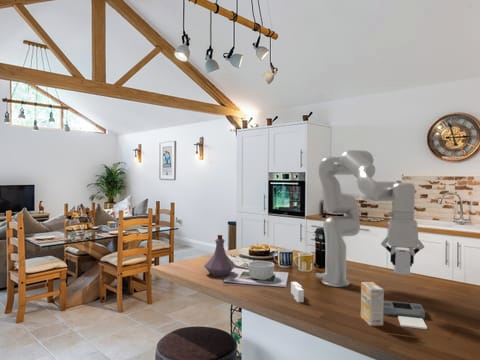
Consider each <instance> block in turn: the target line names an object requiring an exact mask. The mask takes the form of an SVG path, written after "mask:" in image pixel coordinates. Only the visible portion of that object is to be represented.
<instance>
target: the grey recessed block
mask: <svg viewBox="0 0 480 360" xmlns="http://www.w3.org/2000/svg"><path fill="white" fill-rule="evenodd" d="M383 315H385V316H396V317H398V316H403V317H412V318H422V319H423V320H426V319H425V318H426V311H425V309H424V307H423V306H422V304H421V303H413V302H405V301H402V302H401V301H393V300H384V303H383Z"/></svg>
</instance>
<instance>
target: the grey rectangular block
mask: <svg viewBox="0 0 480 360" xmlns="http://www.w3.org/2000/svg"><path fill="white" fill-rule="evenodd" d="M410 257H411V253H410V250H409V249H401V248H400V249H399V248H398V249H397V248H396V249H395V265H393V272H394V274H398V275H409V276H410V275H411V266H410Z"/></svg>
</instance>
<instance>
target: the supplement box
mask: <svg viewBox="0 0 480 360" xmlns="http://www.w3.org/2000/svg"><path fill="white" fill-rule="evenodd" d="M384 293H385V290H384V288H383V287H381V286H379V285H378V284H376V283H375V282H373V281H361V283H360V318H362V319H363V321H365V323H367V324H368V326H370V327H376V326H377V327H380V326H381V327H382V326H384V314H383V303H384V301H385V299H384V298H385V297H384V295H385V294H384Z"/></svg>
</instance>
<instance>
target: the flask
mask: <svg viewBox="0 0 480 360" xmlns="http://www.w3.org/2000/svg"><path fill="white" fill-rule="evenodd" d="M214 242H215V244H216V246H215V250H214V253H213V255H212V256H211V258H210V259H209V260H208V261H207V262H206V263H205V264H204V266H203V267H204V268H205V269H206V270H207V271H208V273H209V274H210V275H211V276H214V277H224V275H225V276H228V275H227V274H228V273H229V274H230V272H231V271H232V270H233V269H234V268H235V266H236V264H235V263H234V262H233V260H231V258H230V257H229V256H228V255H227V253H226V251H225V250H226V249H225V245H224V243H225V239H223V235H222V234H217V239H215V240H214Z"/></svg>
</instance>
